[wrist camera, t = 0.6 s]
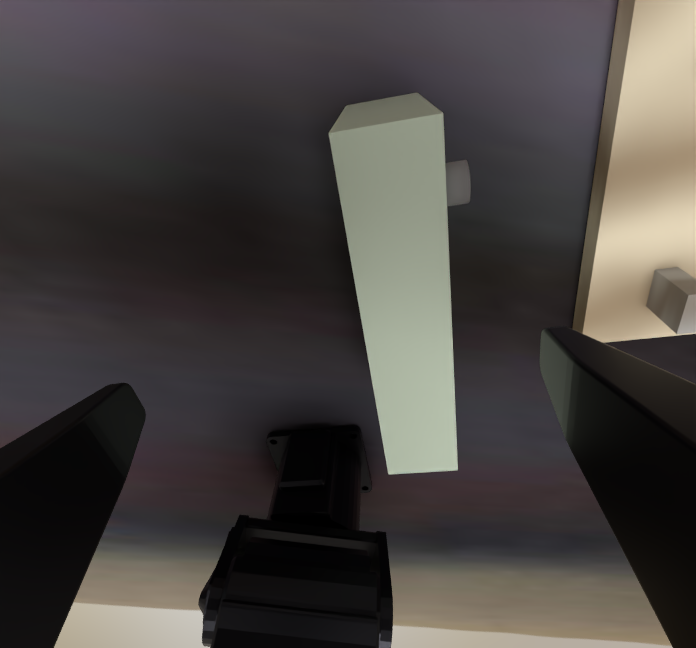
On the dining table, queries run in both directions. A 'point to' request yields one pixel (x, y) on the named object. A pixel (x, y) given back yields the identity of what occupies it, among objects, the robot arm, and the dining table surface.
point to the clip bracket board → (644, 182)
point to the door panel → (403, 269)
